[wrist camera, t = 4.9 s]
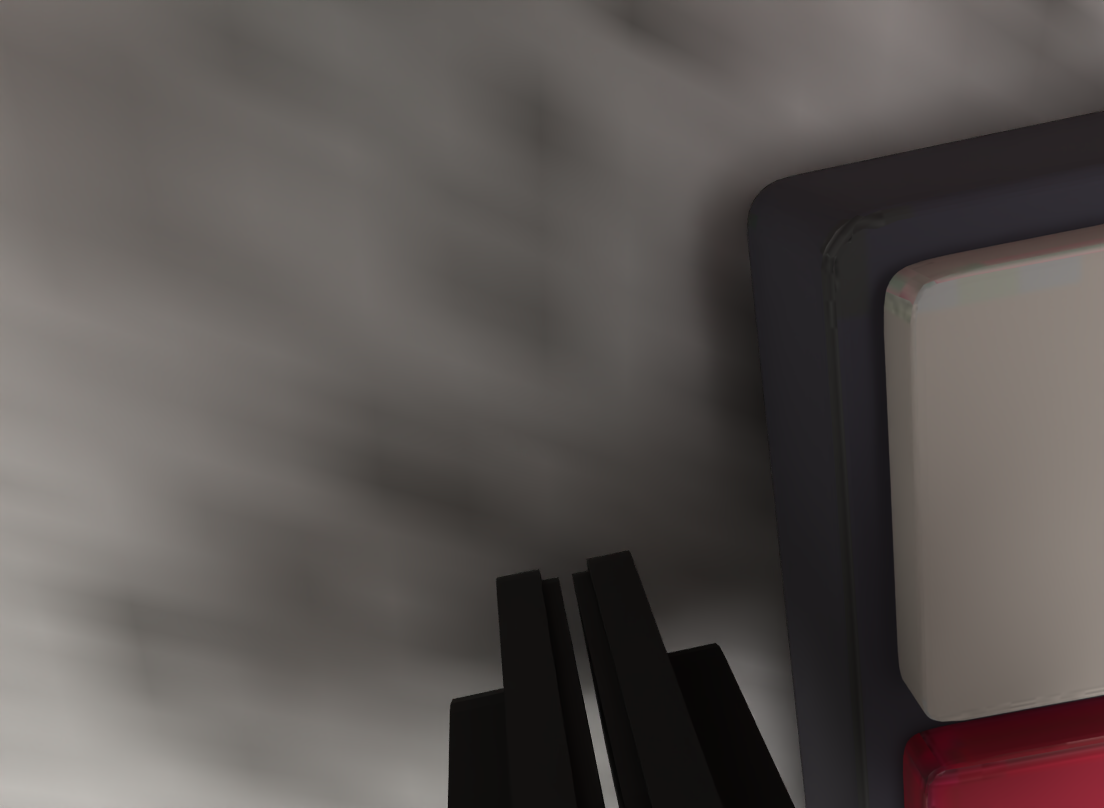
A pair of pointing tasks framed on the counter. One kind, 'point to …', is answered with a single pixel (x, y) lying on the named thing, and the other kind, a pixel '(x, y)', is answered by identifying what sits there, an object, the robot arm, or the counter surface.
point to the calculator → (941, 467)
